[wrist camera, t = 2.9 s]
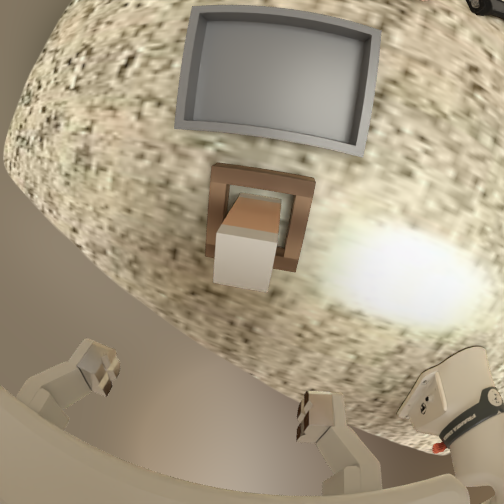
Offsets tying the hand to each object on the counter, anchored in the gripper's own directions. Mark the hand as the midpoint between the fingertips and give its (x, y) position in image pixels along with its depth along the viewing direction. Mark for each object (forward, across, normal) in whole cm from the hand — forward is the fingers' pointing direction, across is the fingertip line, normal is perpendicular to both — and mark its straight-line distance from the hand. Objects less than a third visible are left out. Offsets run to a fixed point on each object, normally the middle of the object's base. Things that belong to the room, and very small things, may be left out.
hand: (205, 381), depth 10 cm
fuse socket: (+20, 0, 0) cm, 20 cm away
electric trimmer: (+20, -27, -36) cm, 49 cm away
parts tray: (+20, 0, -14) cm, 24 cm away
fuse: (+20, 0, 0) cm, 20 cm away
